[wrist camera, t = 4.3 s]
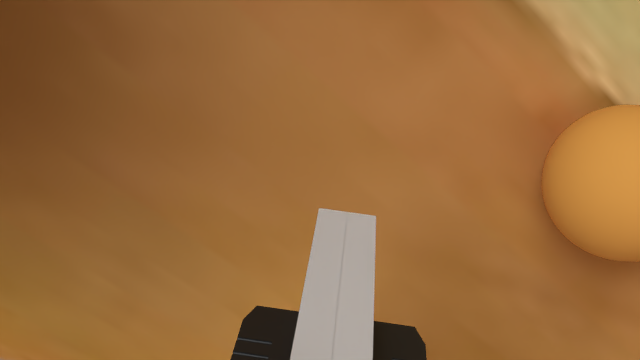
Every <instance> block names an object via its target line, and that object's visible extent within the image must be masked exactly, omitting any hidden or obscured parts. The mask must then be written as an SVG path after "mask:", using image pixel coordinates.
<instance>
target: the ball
mask: <svg viewBox="0 0 640 360" xmlns="http://www.w3.org/2000/svg"><path fill="white" fill-rule="evenodd" d="M541 184H542V196H543V200H544V204H545V207H546V209H547V212H548V214H549V216H550V218H551V219H552V221H553V223H554V224H555V226H556V227H557V228H558V230H559V231H560V232H561V233H562V234H563V235H564V236H565V237H566V238H567V239H568V240H569V241H571V242H572V243H573V244H574V245H576V246H578V247H579V248H581V249H582V250H584V251H586V252H588V253H590V254H592V255H595V256H598V257H601V258H604V259H608V260H613V261H623V262H638V261H640V105H617V106H611V107H606V108H603V109H599V110H596V111H594V112H591V113H589V114H587V115H585V116H583V117H581V118H579V119H578V120H576V121H575V122H574V123H572V124H571V125H570V126H569V127H567V128H566V129H565V130H564V131H563V132H562V133H561V134H560V136H559V137H558V138H557V139H556V141H555V142H554V143H553V145H552V147H551V148H550V150H549V152H548V154H547V157H546V160H545V163H544V167H543V171H542V180H541Z"/></svg>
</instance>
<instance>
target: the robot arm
mask: <svg viewBox="0 0 640 360" xmlns="http://www.w3.org/2000/svg"><path fill="white" fill-rule="evenodd" d="M375 241H376V216H373V215H365V214H358V213H351V212H344V211H336V210H329V209H322V208H319V211H318V216H317V222H316V227H315V232H314V237H313V242H312V248H311V253H310V258H309V263H308V268H307V274H306V279H305V284H304V289H303V294H302V300H301V305H300V310H299V312H297V311H290V310H284V309H277V308H270V307H263V306H256V307H255V308H254V309H253V310H252V311H251V312H250V313H249V314H248V315H247V316H246V317H245V318H244V319H243V321H242V325H241V328H240V331H239V334H238V338H237V341H236V344H235V347H234V350H233V355H232V356H231V360H427V358H426V347H425V343H424V342H423V340H422V338H421V337H420V335H419V333H418V332H417V330H416V329H415V327H411V326H404V325H398V324H391V323H384V322H377V321H374V283H375Z"/></svg>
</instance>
